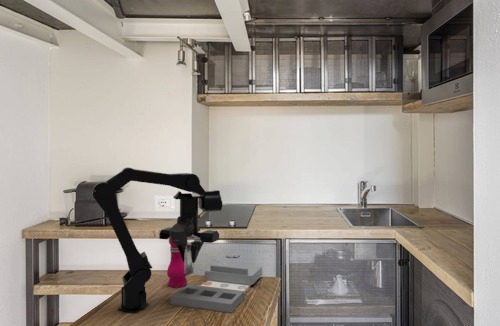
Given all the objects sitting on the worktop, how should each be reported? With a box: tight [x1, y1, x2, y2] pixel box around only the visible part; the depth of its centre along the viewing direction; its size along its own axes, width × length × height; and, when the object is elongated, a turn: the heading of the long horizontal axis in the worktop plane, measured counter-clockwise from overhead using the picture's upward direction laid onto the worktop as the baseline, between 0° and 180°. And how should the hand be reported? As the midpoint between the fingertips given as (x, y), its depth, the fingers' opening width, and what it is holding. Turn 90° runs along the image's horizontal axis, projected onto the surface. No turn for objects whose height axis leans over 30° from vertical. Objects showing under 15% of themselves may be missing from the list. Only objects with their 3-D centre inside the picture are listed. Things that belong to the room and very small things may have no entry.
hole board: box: [170, 283, 245, 314], centre depth 112 cm, size 20×11×2 cm, turn 71°
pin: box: [184, 242, 195, 275], centre depth 114 cm, size 3×3×9 cm
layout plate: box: [200, 280, 252, 293], centre depth 124 cm, size 16×9×1 cm, turn 71°
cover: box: [204, 262, 263, 286], centre depth 132 cm, size 18×11×5 cm, turn 71°
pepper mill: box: [166, 237, 188, 288], centre depth 127 cm, size 7×7×20 cm
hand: (189, 262), depth 114 cm, fingers closed on pin, 3 cm apart
